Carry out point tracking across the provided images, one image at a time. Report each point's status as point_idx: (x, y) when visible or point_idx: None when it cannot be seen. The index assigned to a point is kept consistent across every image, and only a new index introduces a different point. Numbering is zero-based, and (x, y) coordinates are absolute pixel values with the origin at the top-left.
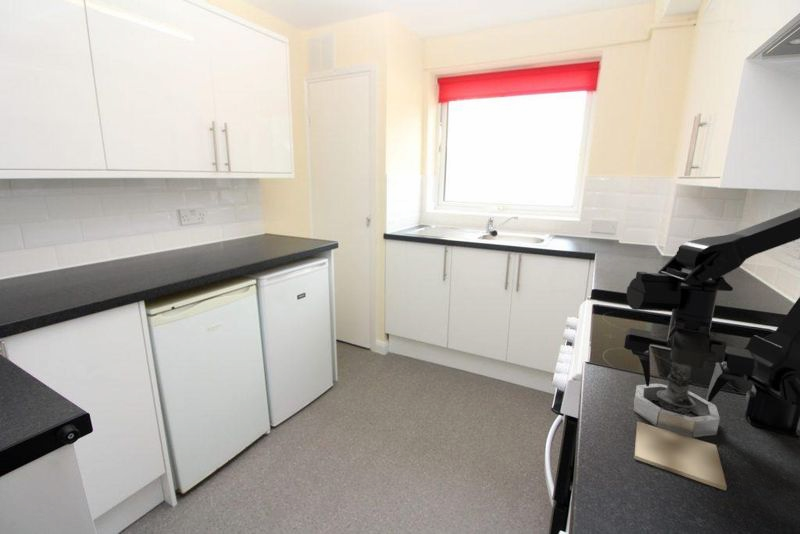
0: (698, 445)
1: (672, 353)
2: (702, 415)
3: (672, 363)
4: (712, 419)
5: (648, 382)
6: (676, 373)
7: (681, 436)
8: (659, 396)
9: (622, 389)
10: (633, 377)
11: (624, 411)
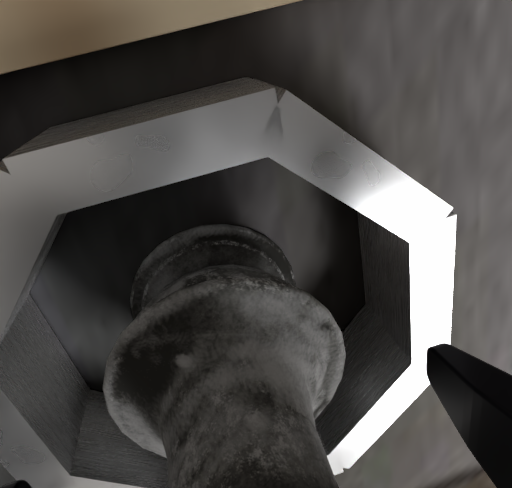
0: None
1: None
2: (103, 404)
3: None
4: None
5: (460, 365)
6: None
7: (73, 19)
8: (324, 314)
9: (450, 343)
10: (413, 466)
11: (434, 115)
